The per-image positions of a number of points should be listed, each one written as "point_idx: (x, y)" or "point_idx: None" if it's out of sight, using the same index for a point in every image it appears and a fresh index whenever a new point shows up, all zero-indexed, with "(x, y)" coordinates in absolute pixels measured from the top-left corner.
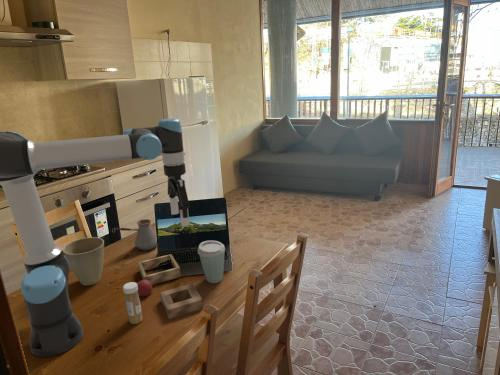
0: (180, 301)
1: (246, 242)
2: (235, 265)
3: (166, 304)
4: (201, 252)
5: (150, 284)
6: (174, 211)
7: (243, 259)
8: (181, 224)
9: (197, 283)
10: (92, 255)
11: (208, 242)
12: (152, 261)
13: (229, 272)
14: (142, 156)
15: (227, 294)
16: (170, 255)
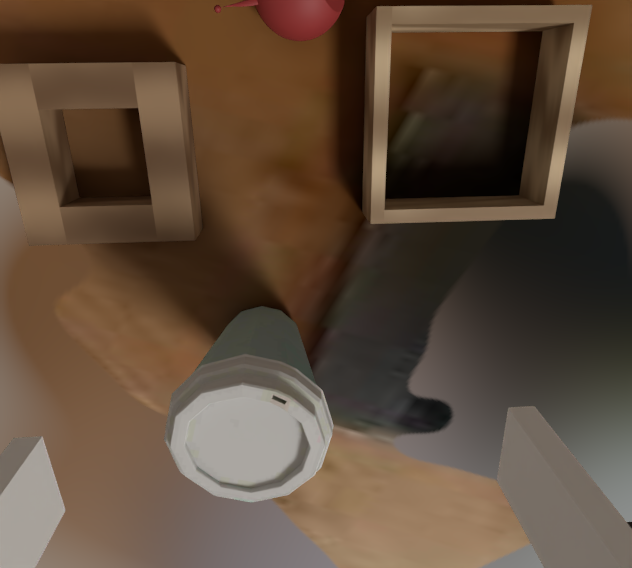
0: (45, 146)
1: (486, 523)
2: None
3: (39, 69)
4: (215, 378)
5: (281, 27)
6: (522, 468)
7: (357, 474)
8: (27, 453)
9: (263, 264)
10: None
11: (309, 446)
12: (555, 99)
13: None
14: None
15: (120, 347)
16: (540, 210)
